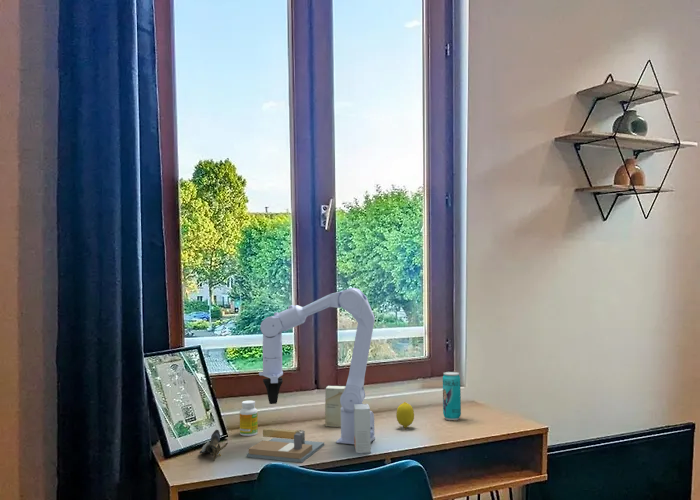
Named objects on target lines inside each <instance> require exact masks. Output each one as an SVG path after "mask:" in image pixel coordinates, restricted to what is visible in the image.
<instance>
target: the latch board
mask: <svg viewBox="0 0 700 500" xmlns="http://www.w3.org/2000/svg"><path fill="white" fill-rule="evenodd" d="M324 446H325V442H323V441H312V440H305V444H302V434H299V433H296V434H295V435H294V439H285V438H274V437H271V438H270V439H269V440H261V441H260V442H258V443H256V444H255V445H253V446H251V447H249V448H248V452H247V453H246V458H253V459H260V460H261V459H264V460H272V461H273V460H274V461H284V462H290V463H291V462H293V463H304V461H306V460H307V459H308V458H310V457H311V456H312V455H313V454H315V453H316V452H317V451H319V450H320V449H322V448H323V447H324Z"/></svg>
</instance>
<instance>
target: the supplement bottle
mask: <svg viewBox="0 0 700 500" xmlns="http://www.w3.org/2000/svg"><path fill="white" fill-rule="evenodd" d="M255 406H256V401H255V400H244V401H241V407H242V408H241V409H240V410H239V434H240V435H241V436H243V437H250V436H251V437H252V436H255V435H258V428H259V427H258V423H259V422H258V421H259V419H258V413H259V411H258V409H257V408H256V407H255Z"/></svg>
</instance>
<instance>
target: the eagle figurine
mask: <svg viewBox="0 0 700 500" xmlns="http://www.w3.org/2000/svg"><path fill="white" fill-rule="evenodd" d="M210 436H211V437H210V441H207V442H206V443H205V444H203V446H202V447H201V450H200V451H199V452H198V454H204V453H210V455H212V456H213V458H212V459H213V460H212V461H213V462H214V461H215V460H216V458H217V457H218V456H220V457H221V456H222V455H221V451H222V450H223V449H225V448H226V447H227V445H228V442H225V444H224V445H222V446H221V444H220V441H221V434H220V430H219V429H215V430H214V431H213V432H212V433H211V435H210Z"/></svg>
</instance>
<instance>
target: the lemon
mask: <svg viewBox="0 0 700 500" xmlns="http://www.w3.org/2000/svg"><path fill="white" fill-rule="evenodd" d="M414 419H415V412H414V408H413V407H412V405H411V404H410V403H408V402H406V401H404V402H403V403H400V405H398V407H397V409H396V421H397V423H398V424H399V425H400V426H402V427H403V428H404V429H407V428H408V427H409V426H410V425H412V423H413V422H414V421H415V420H414Z"/></svg>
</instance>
